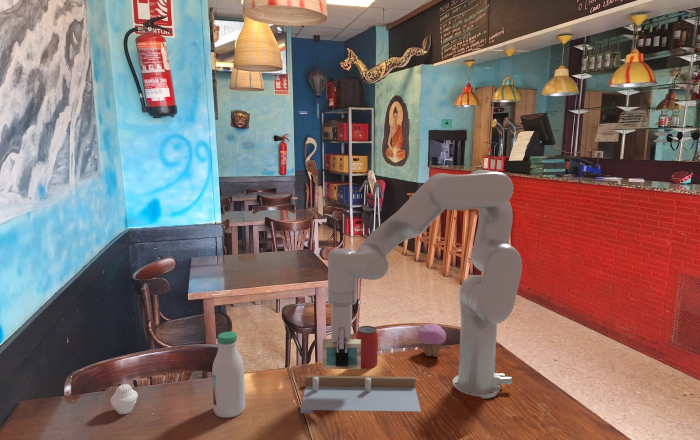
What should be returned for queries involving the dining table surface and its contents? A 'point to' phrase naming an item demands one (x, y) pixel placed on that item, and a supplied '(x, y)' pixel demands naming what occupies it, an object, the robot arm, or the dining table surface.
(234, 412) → the milk bottle
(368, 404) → the ledge
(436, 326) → the cupcake
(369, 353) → the beer can
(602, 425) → the dining table surface
